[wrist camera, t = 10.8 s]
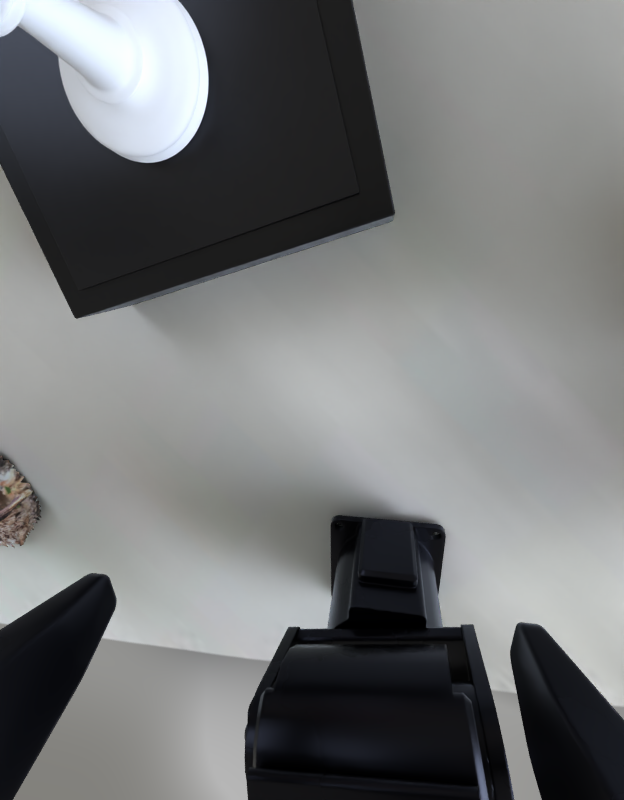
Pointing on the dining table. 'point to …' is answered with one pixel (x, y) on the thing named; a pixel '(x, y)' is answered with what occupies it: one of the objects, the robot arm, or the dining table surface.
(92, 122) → the chess piece
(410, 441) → the dining table surface
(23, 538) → the grey mottled stone figure
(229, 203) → the stand
